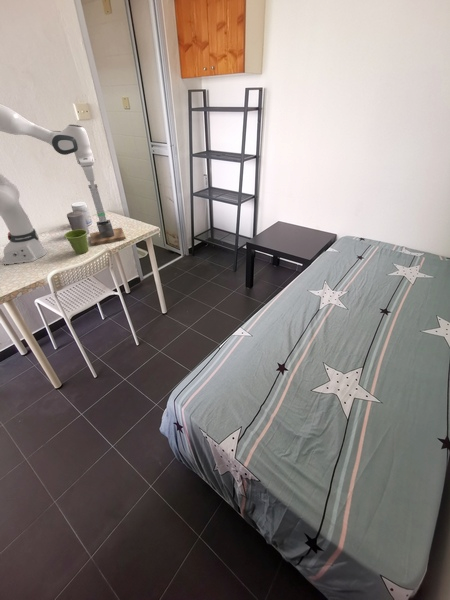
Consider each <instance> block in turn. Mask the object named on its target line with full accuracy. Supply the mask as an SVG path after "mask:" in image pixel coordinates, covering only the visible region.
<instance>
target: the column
mask: <svg viewBox="0 0 450 600" xmlns="http://www.w3.org/2000/svg"><path fill="white" fill-rule="evenodd" d="M94 185H95V188H92V187H91V184H88V186H87V187H88V188H89V191H90V194H91V197H92V201H93V204H94V207H95V210H96V215H97V218H98V221H100V222H106V221H107V220H108V219H107V217H106V213H105V210H104V208H103V202H102V200H101V197H100V193H99V189H98V184H97V183H94Z"/></svg>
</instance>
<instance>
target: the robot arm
mask: <svg viewBox="0 0 450 600" xmlns="http://www.w3.org/2000/svg"><path fill="white" fill-rule="evenodd" d="M0 132H3V133H6V134H9V135H15V136H16V135H17V136H18V135H19V136H20V135H23V136H24V135H25V136H30V137H32V138H35V139H37V140H40V141H42V142H45V143H47V144H49V145H51V147H53V150H54V151H56V153H58V154H60V155H62V156H63V155H65V156H67V155H69V154H73V153H74V157H75V159H76V162H77V164H78V165H79V166H80V167H81V168H82V170H83V173H84V176H85V177H86V180H87V182H89V185H91V187H92V188H95V185H94V184H95V181H96V177H95V171H94V166H95V165H94V164H95V163H96V161H95V157H94V154H93V150H92V148H91V142H90V139H89V135H88V133H87V132H88V131H87V130H86V129H85V128H84V127H83V126H81V125H78V124H68V125H67V126H66V128H64V129H63V130H61V131H60V130H51V129H49V128H45V127H43V126H41V125H39V124H36V123H35V122H32V121H30V120H28V119H27V118H25V117H24V116H22V115H21V114H20V113H18V112H16V111H15V110H14V109H12V108H10V107H8V106H6V105H4V104H1V103H0ZM20 196H21V195H20V191H19V189H18V187H17V186H16V185H15V184H14V183H12V182H11V181H10V180H9V179H8V178H7V177H5V175H4V174H2V173H1V172H0V217H1V219H2V220H3V222H4V223H5V225H6V227H7V229H8V233H7V239H8V241H9V242H7V244H6V245H5V247H4V248H3V257H2V258H1V263H2V264H3V265H4V264H5V265H4V266H7V265H6V264H9V265H15V264H14V263H17V264H24V263H23V262H25V263H30V262H35V261H36V260H37V259H39V258H42V257H43V256H45V255H46V254H47V253H48V251H47V249H46V248H45V246H44V245H43V243H42V242H41V241H40V239H39V236H38V233H37V231H36V229H35V228H34V227H33V225H32V223H31V221H30V217H29V216H28V214H27V213H26V212H25V210H24V208H23V207H22V205H21V203H20Z"/></svg>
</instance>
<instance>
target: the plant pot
mask: <svg viewBox="0 0 450 600" xmlns="http://www.w3.org/2000/svg"><path fill="white" fill-rule="evenodd" d="M63 237H65V238H66V240H67V241H68V242H69V244H70V246H71V247H72V249H73V252H74V253H75V254H77V255H82V254H86V253H87V252H89V246H88V245H89V243H88V238H87V237H88V234H87V231H86V230H82V229H78V230H72V229H71V230H70V231H67V232H66V233H64V236H63Z"/></svg>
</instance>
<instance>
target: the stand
mask: <svg viewBox="0 0 450 600" xmlns="http://www.w3.org/2000/svg"><path fill="white" fill-rule="evenodd" d="M106 220H107V221H106V222H100V221H99V220H98V221H96V226H97V229H98V231H96V232H89V237H90V243H91V246H92V247H94V246H99V245H105V244H109V243H114V242H120V241H124V239H126V240H127V237H126V235H125V232H124V231H123V228H122V227H117V228H113V226H112V223H111V220H110V219H106Z"/></svg>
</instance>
